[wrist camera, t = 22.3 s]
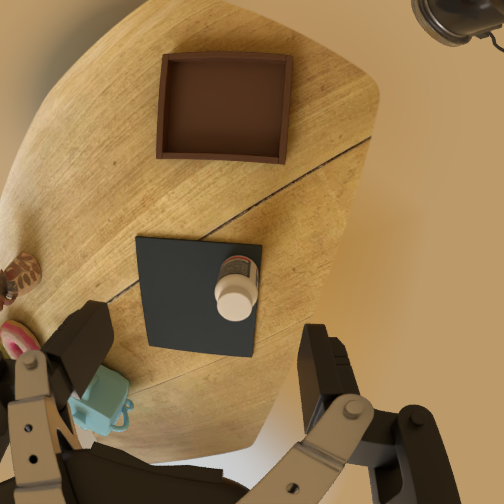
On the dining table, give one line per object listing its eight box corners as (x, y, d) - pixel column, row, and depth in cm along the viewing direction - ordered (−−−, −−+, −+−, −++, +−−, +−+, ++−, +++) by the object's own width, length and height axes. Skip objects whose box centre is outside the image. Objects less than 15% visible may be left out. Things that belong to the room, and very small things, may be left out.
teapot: (114, 346, 48) (84, 397, 36) (149, 402, 54) (132, 450, 42) (54, 348, 50) (24, 387, 38) (89, 398, 56) (68, 438, 44)
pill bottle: (212, 268, 41) (201, 302, 32) (242, 247, 39) (236, 278, 31) (237, 294, 42) (231, 332, 34) (266, 275, 41) (266, 311, 33)
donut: (37, 324, 48) (25, 337, 43) (53, 368, 53) (44, 381, 49) (1, 310, 48) (-11, 321, 43) (18, 352, 53) (8, 364, 48)
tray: (291, 60, 30) (293, 55, 28) (283, 162, 35) (285, 164, 33) (168, 58, 30) (162, 54, 28) (162, 157, 35) (155, 159, 33)
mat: (262, 245, 40) (262, 246, 39) (252, 355, 47) (252, 357, 47) (136, 236, 40) (135, 237, 39) (149, 343, 47) (148, 345, 47)
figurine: (26, 244, 41) (-16, 273, 30) (47, 275, 43) (8, 309, 32) (13, 263, 43) (-25, 291, 31) (33, 291, 45) (-3, 324, 34)
